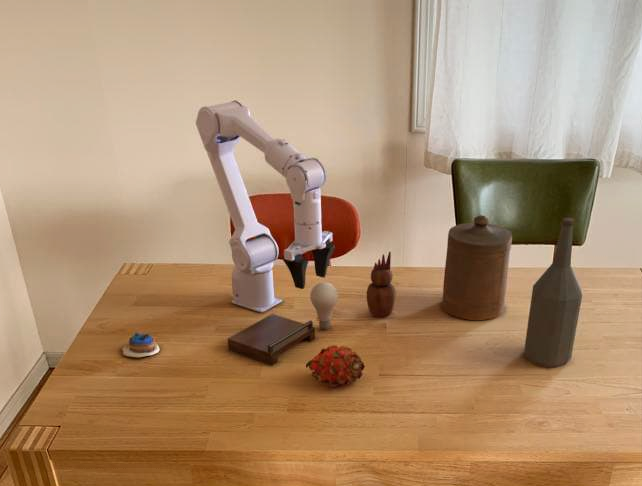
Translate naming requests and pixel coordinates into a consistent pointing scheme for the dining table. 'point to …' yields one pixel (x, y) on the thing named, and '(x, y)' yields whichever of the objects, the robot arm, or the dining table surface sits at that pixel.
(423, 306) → the dining table surface
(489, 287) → the wooden container
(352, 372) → the dragon fruit
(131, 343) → the dessert
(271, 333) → the shelf
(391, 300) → the wooden figurine
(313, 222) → the robot arm
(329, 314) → the lightbulb
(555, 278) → the bottle
